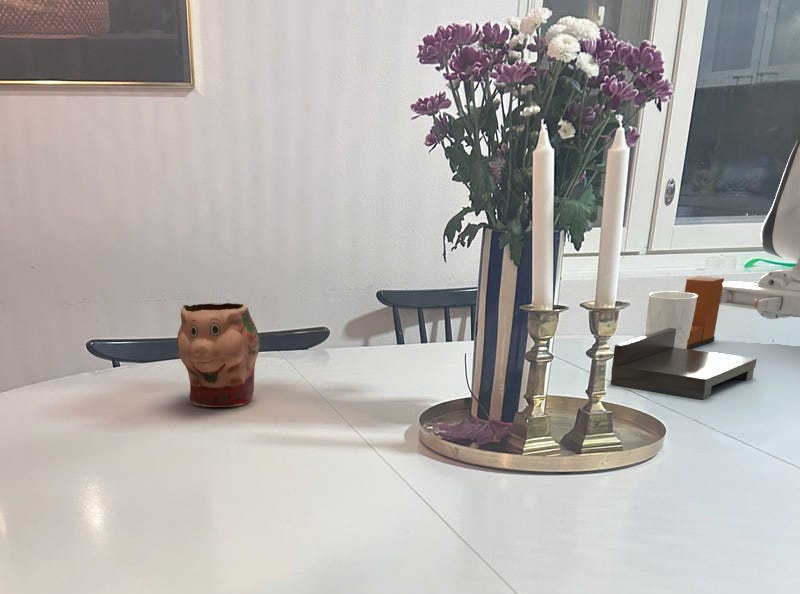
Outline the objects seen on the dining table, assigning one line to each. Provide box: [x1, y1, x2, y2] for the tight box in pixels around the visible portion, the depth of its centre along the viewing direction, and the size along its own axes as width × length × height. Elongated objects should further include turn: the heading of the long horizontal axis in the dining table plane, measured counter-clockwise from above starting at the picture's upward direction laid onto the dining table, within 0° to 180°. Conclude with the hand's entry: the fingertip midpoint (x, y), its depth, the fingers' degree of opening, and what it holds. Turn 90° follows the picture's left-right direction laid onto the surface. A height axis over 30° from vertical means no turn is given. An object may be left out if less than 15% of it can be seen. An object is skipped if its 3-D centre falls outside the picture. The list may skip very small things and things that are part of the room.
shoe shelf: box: [610, 328, 757, 400], centre depth 146 cm, size 15×18×6 cm
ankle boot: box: [684, 275, 725, 350], centre depth 169 cm, size 5×10×11 cm, turn 135°
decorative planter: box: [176, 302, 260, 408], centre depth 141 cm, size 20×12×14 cm, turn 179°
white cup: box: [644, 291, 698, 349], centre depth 162 cm, size 8×8×10 cm
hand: (734, 302), depth 175 cm, fingers open, 8 cm apart
